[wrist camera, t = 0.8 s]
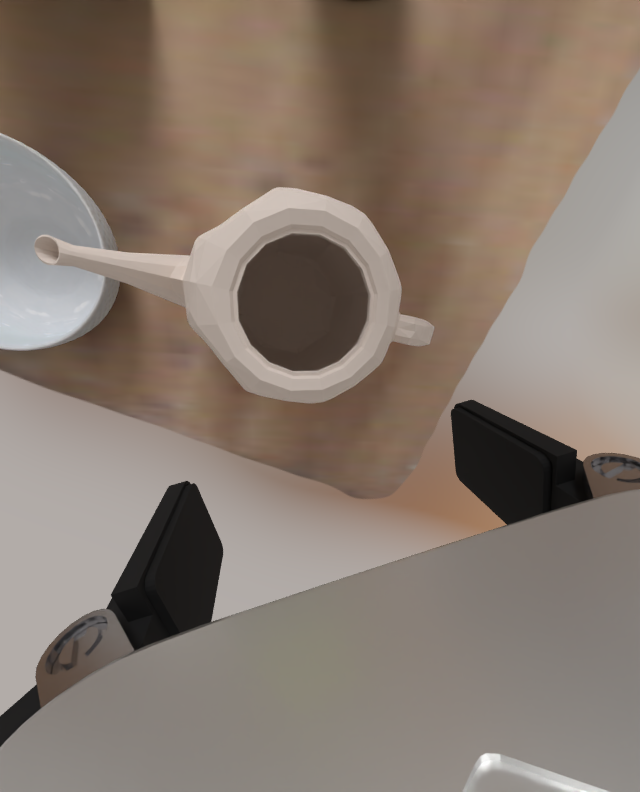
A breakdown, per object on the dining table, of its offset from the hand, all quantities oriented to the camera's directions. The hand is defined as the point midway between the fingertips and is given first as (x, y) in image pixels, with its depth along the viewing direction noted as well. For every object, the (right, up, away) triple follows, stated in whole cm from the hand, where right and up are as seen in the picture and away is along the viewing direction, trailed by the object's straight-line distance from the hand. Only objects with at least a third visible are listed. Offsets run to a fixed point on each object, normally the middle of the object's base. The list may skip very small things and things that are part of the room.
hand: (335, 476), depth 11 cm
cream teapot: (-6, +14, +26) cm, 30 cm away
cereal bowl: (-28, +17, +21) cm, 39 cm away
